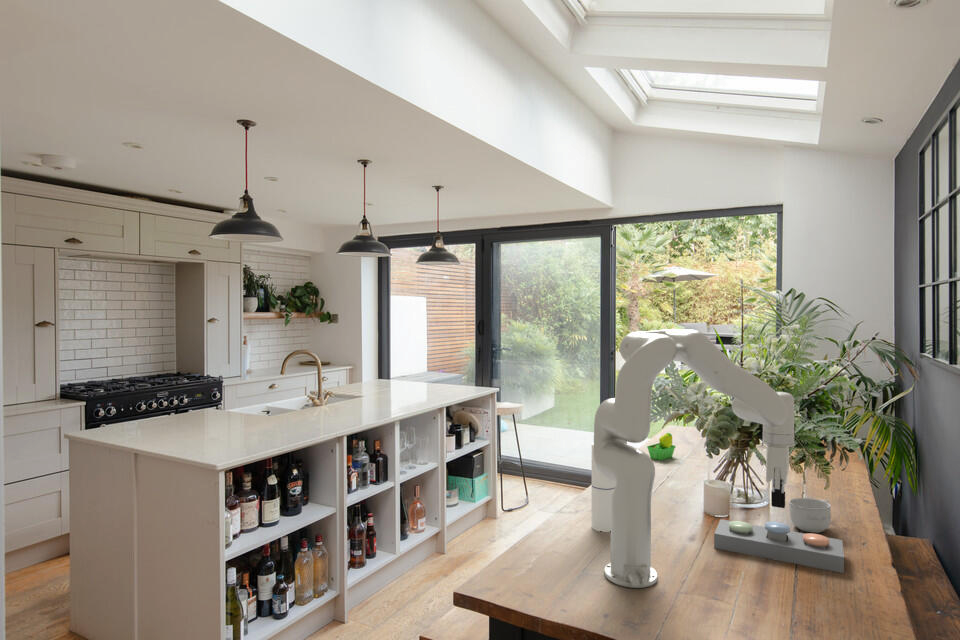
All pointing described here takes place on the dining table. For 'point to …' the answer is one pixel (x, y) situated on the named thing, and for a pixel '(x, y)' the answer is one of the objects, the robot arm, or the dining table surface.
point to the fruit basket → (662, 448)
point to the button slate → (777, 530)
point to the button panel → (780, 547)
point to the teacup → (810, 514)
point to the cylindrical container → (601, 498)
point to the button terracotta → (816, 540)
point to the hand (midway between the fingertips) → (778, 506)
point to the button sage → (740, 527)
